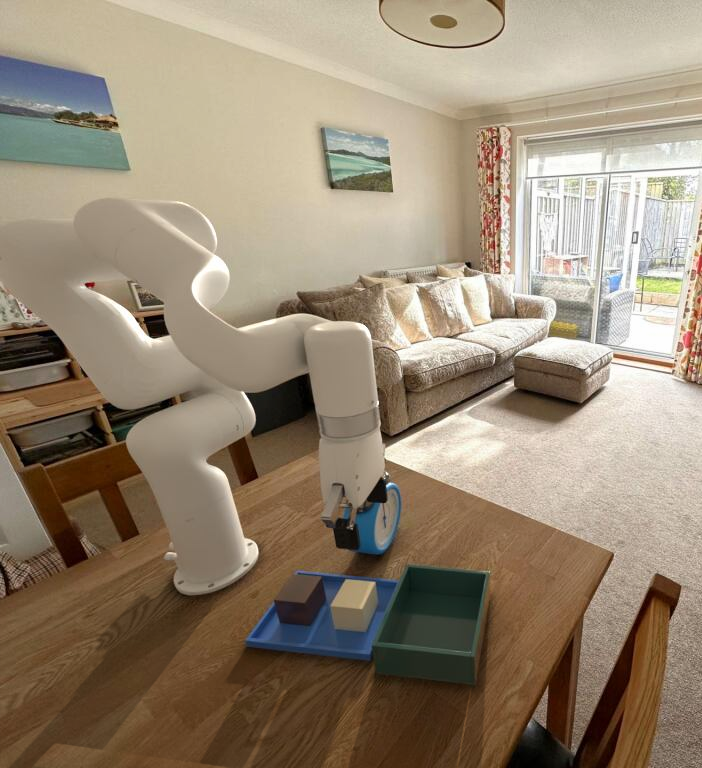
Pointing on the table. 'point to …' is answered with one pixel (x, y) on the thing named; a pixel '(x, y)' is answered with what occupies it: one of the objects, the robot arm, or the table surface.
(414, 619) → the green storage bin
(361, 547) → the alarm clock
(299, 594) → the walnut block
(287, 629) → the blue shallow tray
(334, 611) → the cream block
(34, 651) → the table surface
